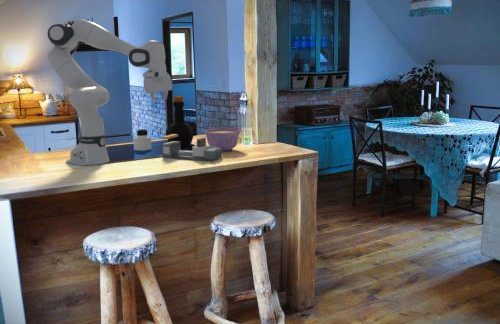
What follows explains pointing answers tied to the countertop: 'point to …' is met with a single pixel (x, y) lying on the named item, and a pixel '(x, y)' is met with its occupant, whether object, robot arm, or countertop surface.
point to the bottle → (180, 125)
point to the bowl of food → (223, 138)
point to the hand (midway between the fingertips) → (159, 100)
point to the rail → (189, 152)
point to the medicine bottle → (142, 140)
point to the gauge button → (170, 136)
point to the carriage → (200, 147)
